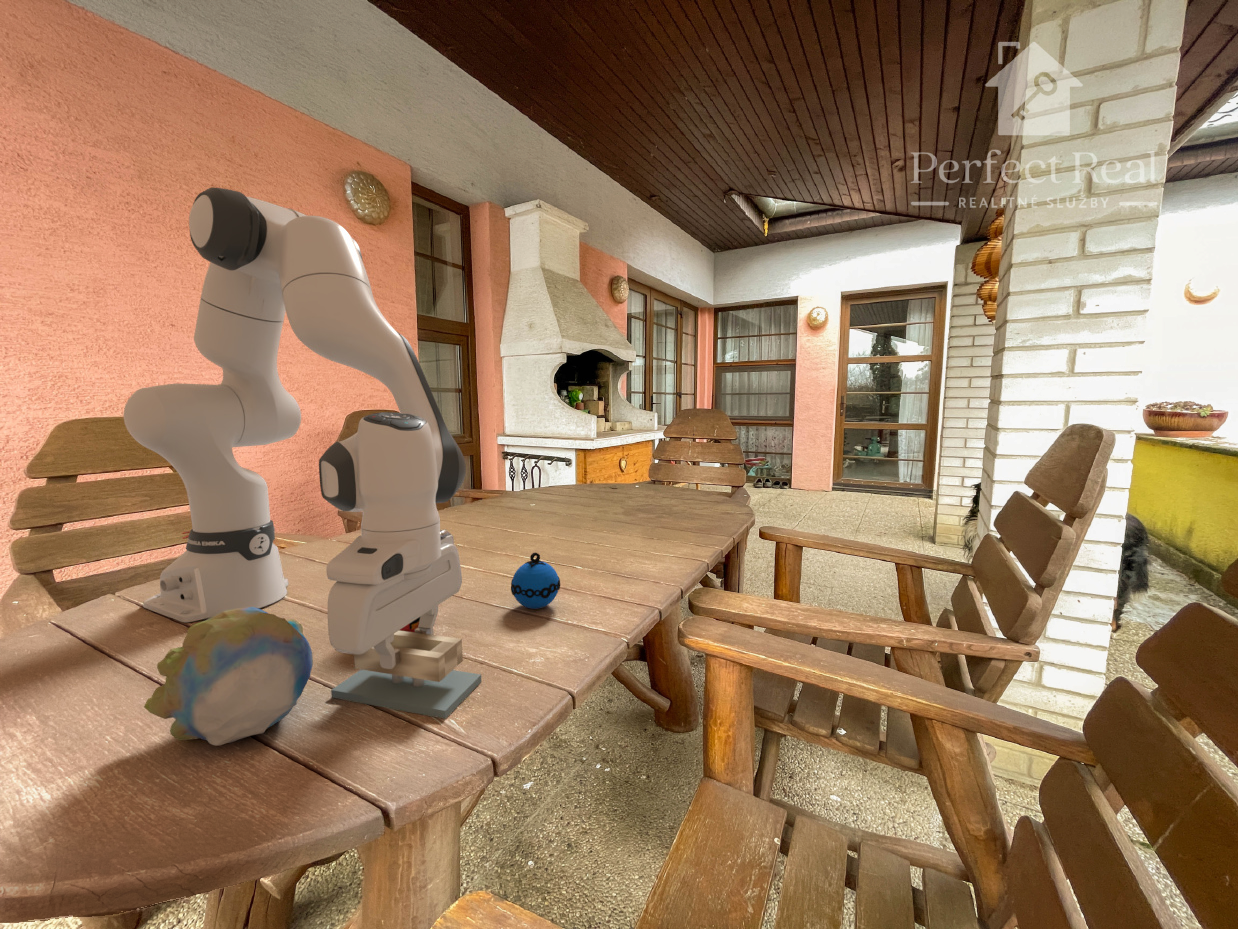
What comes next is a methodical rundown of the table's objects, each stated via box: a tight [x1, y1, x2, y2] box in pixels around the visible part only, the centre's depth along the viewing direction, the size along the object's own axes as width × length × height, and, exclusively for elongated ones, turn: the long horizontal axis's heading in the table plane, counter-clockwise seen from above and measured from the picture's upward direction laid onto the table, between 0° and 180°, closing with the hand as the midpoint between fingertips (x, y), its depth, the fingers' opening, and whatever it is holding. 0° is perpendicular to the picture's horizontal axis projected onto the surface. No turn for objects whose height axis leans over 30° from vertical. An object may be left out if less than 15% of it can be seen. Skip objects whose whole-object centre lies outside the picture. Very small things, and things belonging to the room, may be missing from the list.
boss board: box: [330, 669, 483, 720], centre depth 63 cm, size 16×8×4 cm, turn 75°
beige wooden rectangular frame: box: [353, 631, 464, 682], centre depth 63 cm, size 12×5×3 cm, turn 75°
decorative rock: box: [143, 607, 314, 747], centre depth 56 cm, size 14×16×15 cm
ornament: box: [510, 552, 561, 610], centre depth 88 cm, size 9×9×10 cm
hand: (408, 652), depth 63 cm, fingers closed on beige wooden rectangular frame, 5 cm apart
